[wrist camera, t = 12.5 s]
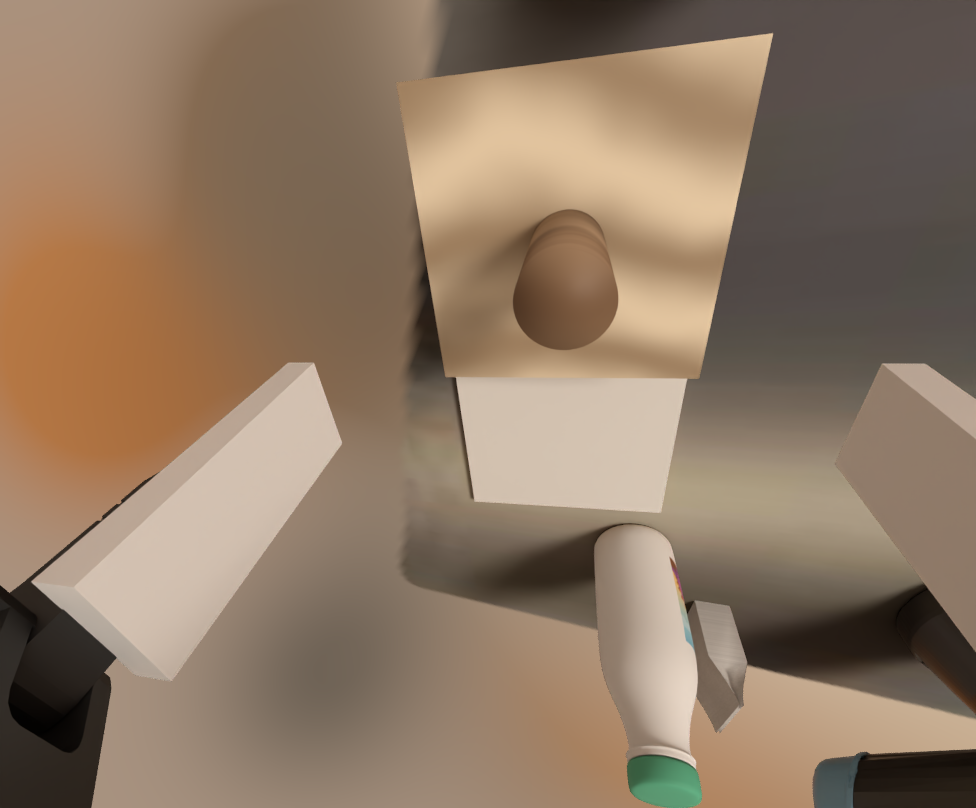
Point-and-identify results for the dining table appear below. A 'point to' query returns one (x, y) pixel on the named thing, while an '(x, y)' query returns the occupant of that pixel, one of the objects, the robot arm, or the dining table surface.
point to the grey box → (717, 661)
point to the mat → (571, 440)
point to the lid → (582, 207)
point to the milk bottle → (648, 661)
